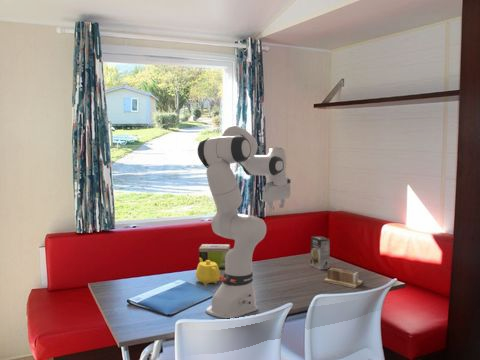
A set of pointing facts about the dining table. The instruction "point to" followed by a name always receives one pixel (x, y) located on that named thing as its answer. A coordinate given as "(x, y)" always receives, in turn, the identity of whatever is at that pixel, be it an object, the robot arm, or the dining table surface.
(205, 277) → the teapot
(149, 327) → the dining table surface
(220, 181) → the robot arm
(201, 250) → the tea box
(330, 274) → the walnut post
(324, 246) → the coffee box
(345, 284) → the beige flat slab
